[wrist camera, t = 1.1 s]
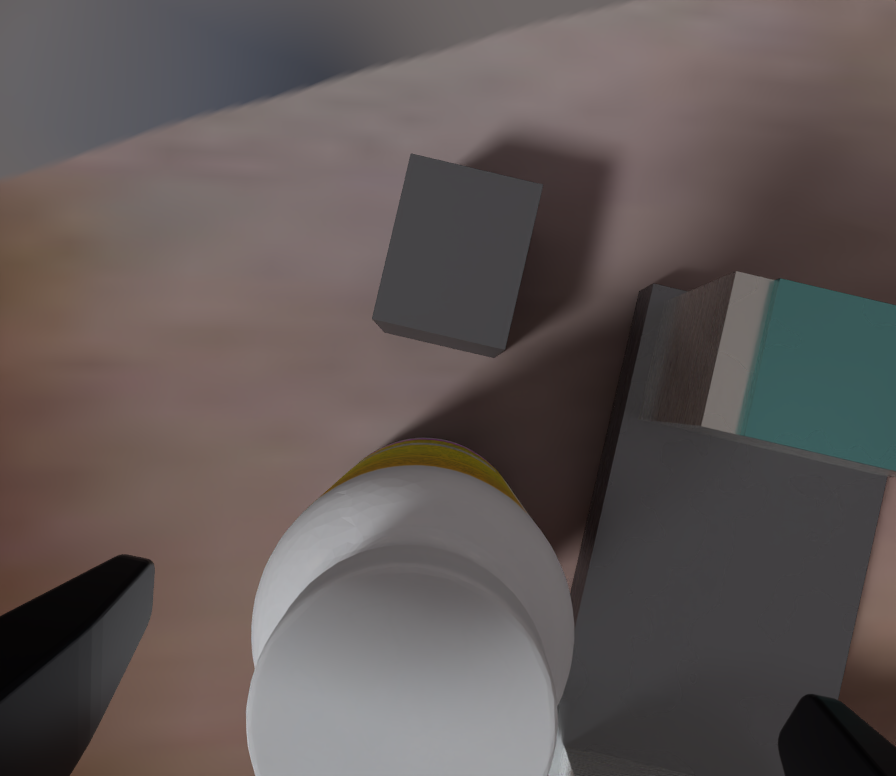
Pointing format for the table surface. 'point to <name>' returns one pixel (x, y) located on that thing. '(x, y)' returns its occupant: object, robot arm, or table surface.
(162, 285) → the table surface
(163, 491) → the table surface
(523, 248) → the loose gray rectangular block
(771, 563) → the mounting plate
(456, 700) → the supplement bottle
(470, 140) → the table surface
